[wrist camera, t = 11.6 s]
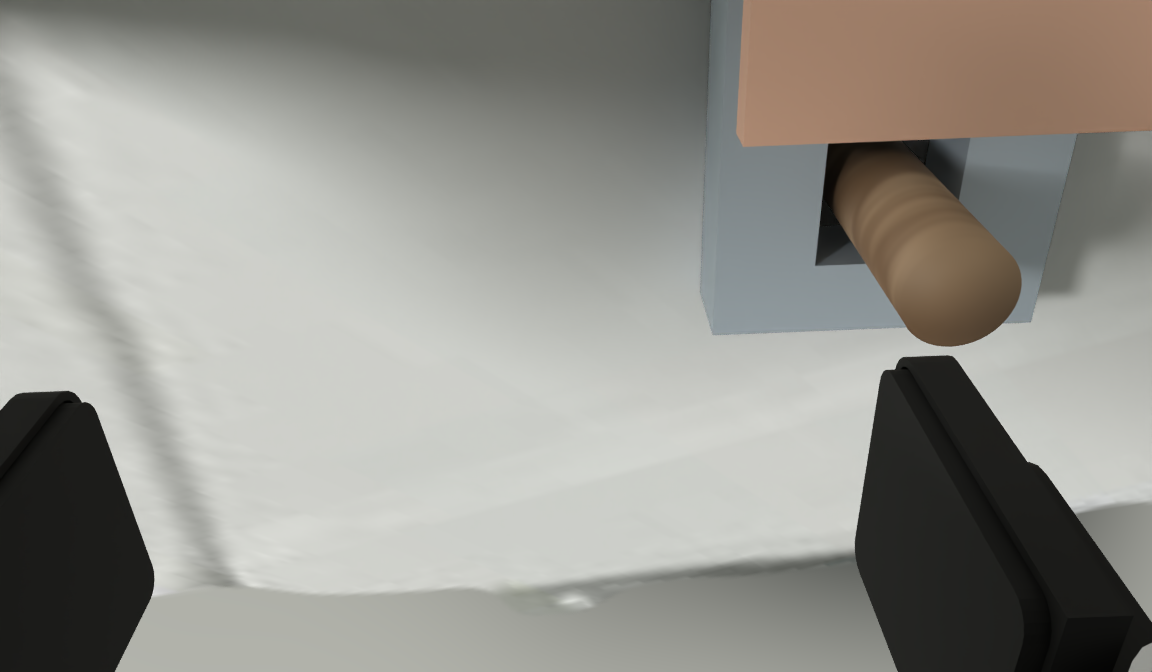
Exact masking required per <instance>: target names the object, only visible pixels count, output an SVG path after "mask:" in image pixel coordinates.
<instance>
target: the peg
mask: <svg viewBox="0 0 1152 672" xmlns="http://www.w3.org/2000/svg"><path fill="white" fill-rule="evenodd" d="M822 197H823V198H824V200H825V201H826V203H827V204H828V206H829V207H830V209H831V211H832V212H833V214H834V215H835V217H836V218H837V220H838V221H839V223H840V225H841V226H842V228H843V229H844V231H845V232H846V234H847V235H848V237H849V239H850V240H851V242H852V243H853V245H854V246H855V248H856V249H857V251H858V252H859V254H860V256H861V257H862V259H863V260H864V262H865V263H866V265H867V266H868V268H869V270H870V271H871V273H872V274H873V276H874V277H875V279H876V280H877V282H878V284H879V285H880V287H881V288H882V290H883V291H884V293H885V294H886V296H887V297H888V299H889V301H890V302H891V304H892V305H893V307H894V308H895V310H896V311H897V313H898V315H899V316H900V318H901V319H902V321H903V322H904V324H905V325H906V327H907V328H908V330H909V331H910V332H911V333H912V334H913V335H914V336H916V337H917V338H918V339H920V340H922V341H924V342H926V343H929V344H932V345H936V346H959V345H964V344H968V343H971V342H974V341H977V340H979V339H981V338H983V337H985V336H987V335H988V334H990V333H991V332H993V331H994V330H996V329H997V328H998V327H999V326H1000V325H1001V324H1002V323H1003V322H1004V321H1005V320H1006V319H1007V318H1008V317H1009V315H1010V314H1011V313H1012V311H1013V310H1014V308H1015V306H1016V304H1017V302H1018V299H1019V296H1020V293H1021V287H1022V278H1021V272H1020V269H1019V266H1018V264H1017V262H1016V260H1015V259H1014V258H1013V256H1012V255H1011V254H1010V253H1009V252H1008V251H1007V250H1006V249H1005V248H1004V247H1003V246H1002V245H1001V244H1000V243H999V242H998V241H997V240H996V239H995V238H994V237H993V236H992V234H991V233H990V232H989V231H988V230H987V229H986V228H985V227H984V226H983V225H982V224H981V223H980V222H979V221H978V220H977V219H976V218H975V217H974V216H973V215H972V214H971V213H970V212H969V211H968V210H967V209H966V207H965V206H964V205H963V204H962V203H961V202H960V201H959V200H958V199H957V198H956V197H955V196H954V195H953V194H952V193H951V192H950V191H949V190H948V189H947V188H946V187H945V186H944V185H943V184H942V183H941V182H940V181H939V179H938V178H937V177H936V176H935V175H934V174H933V173H932V172H931V171H930V170H929V169H928V168H927V167H926V166H925V165H924V164H923V163H922V162H921V161H920V160H919V159H918V158H917V157H916V156H915V155H914V154H913V152H912V151H911V150H910V149H909V148H908V147H907V146H906V145H905V144H904V143H903V142H902V141H877V142H853V143H828V149H827V158H826V168H825V177H824V186H823V196H822Z"/></svg>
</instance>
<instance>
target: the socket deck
mask: <svg viewBox="0 0 1152 672" xmlns="http://www.w3.org/2000/svg"><path fill="white" fill-rule="evenodd" d="M1148 130H1152V0H711V20H710V46H709V73H708V100H707V127H706V154H705V180H704V207H703V234H702V261H701V287H700V293H701V296H702V300H703V303H704V307H705V310H706V314H707V317H708V321H709V324H710V328H711V331H712V335H729V334H754V333H778V332H803V331H828V330H853V329H877V328H902V327H906V325H905V324H904V322H903V321H902V319H901V318H900V316H899V315H898V313H897V311H896V310H895V308H894V307H893V305H892V304H891V302H890V301H889V299H888V297H887V296H886V294H885V293H884V291H883V290H882V288H881V287H880V285H879V284H878V282H877V280H876V279H875V277H874V276H873V274H872V273H871V271H870V270H869V268H868V266H867V265H866V263H865V262H864V260H863V259H862V257H861V256H860V254H859V252H858V251H857V249H856V248H855V246H854V245H853V243H852V242H851V240H850V239H849V237H848V235H847V234H846V232H845V231H844V229H843V228H842V226H841V225H833V226H819V224H820V214H821V205H822V196H823V186H824V177H825V168H826V158H827V149H828V143H853V142H877V141H902V140H927V139H930V140H929V146H928V152H927V158H926V164H925V166H926V167H927V168H928V169H929V170H930V171H931V172H932V173H933V174H934V175H935V176H936V177H937V178H938V179H939V181H940V182H941V183H942V184H943V185H944V186H945V187H946V188H947V189H948V190H949V191H950V192H951V193H952V194H953V195H954V196H955V197H956V198H957V199H958V200H959V201H960V202H961V203H962V204H963V205H964V206H965V207H966V209H967V210H968V211H969V212H970V213H971V214H972V215H973V216H974V217H975V218H976V219H977V220H978V221H979V222H980V223H981V224H982V225H983V226H984V227H985V228H986V229H987V230H988V231H989V232H990V233H991V234H992V236H993V237H994V238H995V239H996V240H997V241H998V242H999V243H1000V244H1001V245H1002V246H1003V247H1004V248H1005V249H1006V250H1007V251H1008V252H1009V253H1010V254H1011V255H1012V256H1013V258H1014V259H1015V260H1016V262H1017V264H1018V266H1019V269H1020V272H1021V278H1022V287H1021V293H1020V296H1019V299H1018V302H1017V304H1016V306H1015V308H1014V310H1013V311H1012V313H1011V314H1010V315H1009V317H1008V318H1007V319H1006V320H1005V321H1004V322H1003V323H1026V322H1031V320H1032V316H1033V312H1034V308H1035V304H1036V299H1037V295H1038V291H1039V287H1040V283H1041V279H1042V275H1043V271H1044V267H1045V263H1046V259H1047V255H1048V251H1049V247H1050V243H1051V239H1052V235H1053V231H1054V227H1055V223H1056V218H1057V214H1058V210H1059V206H1060V202H1061V198H1062V194H1063V190H1064V186H1065V182H1066V178H1067V174H1068V170H1069V166H1070V162H1071V158H1072V154H1073V150H1074V146H1075V142H1076V137H1077V133H1099V132H1124V131H1148Z"/></svg>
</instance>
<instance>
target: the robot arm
mask: <svg viewBox="0 0 1152 672" xmlns="http://www.w3.org/2000/svg"><path fill="white" fill-rule="evenodd" d="M855 555H856V561H857V566H858V569H859V572H860V575H861V578H862V580H863V583H864V585H865V588H866V591H867V593H868V596H869V598H870V601H871V603H872V606H873V608H874V611H875V613H876V616H877V619H878V622H879V624H880V627H881V629H882V632H883V634H884V637H885V640H886V642H887V645H888V648H889V650H890V653H891V655H892V658H893V660H894V663H895V666H896V668H897V671H898V672H1152V622H1151V621H1150V620H1149V618H1148V617H1147V615H1146V614H1145V612H1144V611H1143V609H1142V608H1141V607H1140V605H1139V604H1138V602H1137V601H1136V600H1135V598H1134V597H1133V596H1132V594H1131V593H1130V591H1129V590H1128V588H1127V587H1126V586H1125V584H1124V583H1123V581H1122V580H1121V579H1120V577H1119V576H1118V574H1117V573H1116V572H1115V570H1114V569H1113V567H1112V566H1111V564H1110V563H1109V562H1108V560H1107V559H1106V557H1105V556H1104V555H1103V553H1102V552H1101V550H1100V549H1099V548H1098V546H1097V545H1096V543H1095V542H1094V541H1093V539H1092V538H1091V536H1090V535H1089V534H1088V532H1087V531H1086V529H1085V528H1084V527H1083V525H1082V524H1081V522H1080V521H1079V519H1078V518H1077V517H1076V515H1075V514H1074V512H1073V511H1072V510H1071V508H1070V507H1069V505H1068V504H1067V502H1066V501H1065V500H1064V498H1063V497H1062V495H1061V494H1060V493H1059V491H1058V490H1057V488H1056V487H1055V486H1054V484H1053V483H1052V481H1051V480H1050V479H1049V477H1048V476H1047V474H1046V473H1045V472H1044V471H1043V470H1042V469H1041V468H1040V467H1039V466H1038V465H1035V464H1033V463H1030V462H1027V461H1026V459H1025V458H1024V457H1023V455H1022V454H1021V452H1020V451H1019V449H1018V448H1017V446H1016V445H1015V444H1014V442H1013V441H1012V439H1011V438H1010V436H1009V435H1008V434H1007V432H1006V431H1005V429H1004V428H1003V426H1002V425H1001V423H1000V422H999V421H998V419H997V418H996V416H995V415H994V413H993V412H992V411H991V409H990V408H989V406H988V405H987V403H986V402H985V400H984V399H983V398H982V396H981V395H980V393H979V392H978V390H977V389H976V387H975V386H974V385H973V383H972V382H971V380H970V379H969V377H968V376H967V375H966V373H965V372H964V370H963V369H962V367H961V366H960V364H959V363H958V362H957V360H956V359H955V358H954V357H953V356H948V355H946V356H921V357H903V358H901V359H900V360H899V361H898V363H897V365H896V369H895V370H885V371H884V372H883V374H882V376H881V380H880V384H879V391H878V397H877V404H876V410H875V416H874V423H873V429H872V435H871V442H870V448H869V454H868V461H867V467H866V473H865V480H864V486H863V492H862V499H861V505H860V512H859V518H858V524H857V531H856V537H855ZM153 588H154V570H153V566H152V563H151V561H150V558H149V555H148V552H147V550H146V547H145V544H144V541H143V539H142V536H141V533H140V530H139V528H138V525H137V522H136V519H135V517H134V514H133V511H132V508H131V506H130V503H129V500H128V497H127V495H126V492H125V489H124V486H123V484H122V481H121V478H120V475H119V473H118V470H117V467H116V464H115V462H114V459H113V456H112V453H111V451H110V448H109V445H108V442H107V440H106V437H105V434H104V431H103V429H102V426H101V423H100V420H99V418H98V415H97V413H96V411H95V409H94V407H93V406H92V405H91V404H89V403H86V402H83V403H82V402H81V400H80V398H79V397H78V396H77V395H76V394H75V393H73V392H70V391H55V392H30V393H20V394H16V395H15V396H14V397H13V398H11V399H10V400H9V401H8V402H7V404H6V405H5V406H4V407H3V408H2V409H1V410H0V672H115V670H116V668H117V666H118V664H119V662H120V660H121V658H122V656H123V654H124V652H125V650H126V648H127V646H128V644H129V642H130V639H131V637H132V635H133V633H134V631H135V629H136V627H137V625H138V623H139V621H140V619H141V617H142V615H143V613H144V611H145V609H146V607H147V605H148V603H149V601H150V599H151V596H152V593H153Z"/></svg>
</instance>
